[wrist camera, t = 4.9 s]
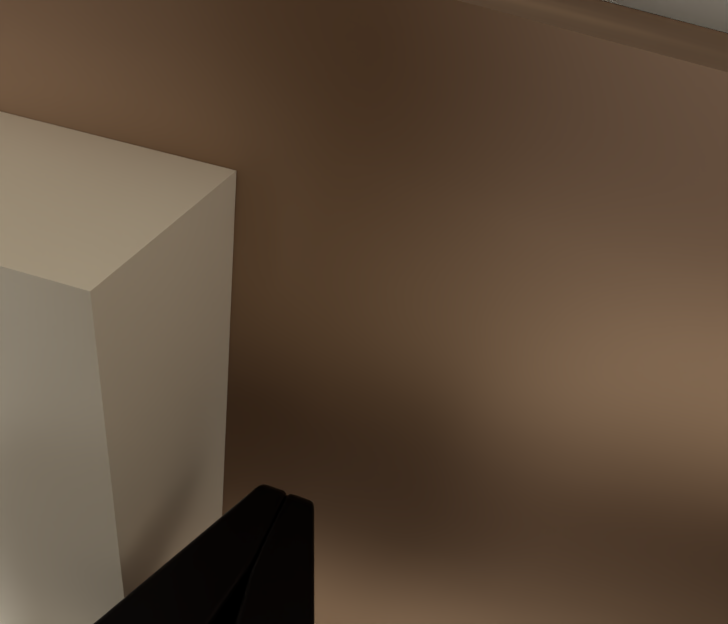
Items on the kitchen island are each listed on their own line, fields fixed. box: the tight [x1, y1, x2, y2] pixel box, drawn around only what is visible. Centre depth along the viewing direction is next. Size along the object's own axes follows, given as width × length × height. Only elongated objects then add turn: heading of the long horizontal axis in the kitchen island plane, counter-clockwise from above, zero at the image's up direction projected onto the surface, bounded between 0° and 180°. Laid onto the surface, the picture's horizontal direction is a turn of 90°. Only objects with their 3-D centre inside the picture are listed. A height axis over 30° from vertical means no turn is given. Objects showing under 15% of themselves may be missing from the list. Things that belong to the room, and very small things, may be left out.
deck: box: [0, 0, 728, 624], centre depth 12 cm, size 14×16×4 cm
